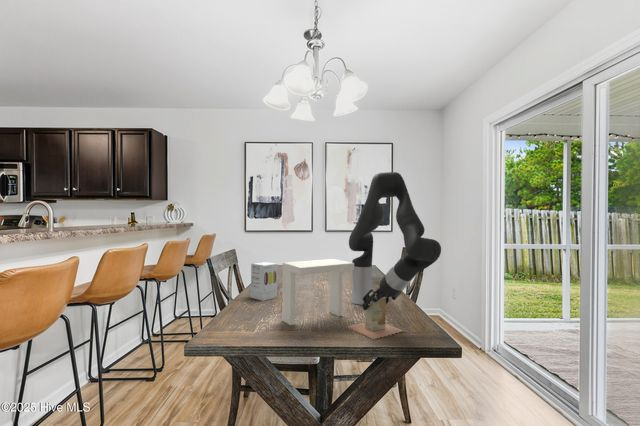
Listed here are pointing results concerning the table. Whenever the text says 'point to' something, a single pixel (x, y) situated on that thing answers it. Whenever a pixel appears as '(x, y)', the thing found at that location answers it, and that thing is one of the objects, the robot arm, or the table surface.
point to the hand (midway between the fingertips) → (372, 306)
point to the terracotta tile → (374, 334)
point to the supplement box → (264, 281)
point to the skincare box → (376, 315)
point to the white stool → (313, 267)
